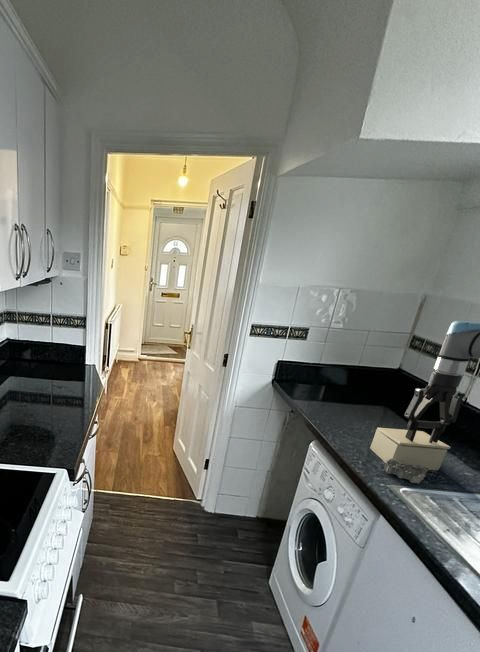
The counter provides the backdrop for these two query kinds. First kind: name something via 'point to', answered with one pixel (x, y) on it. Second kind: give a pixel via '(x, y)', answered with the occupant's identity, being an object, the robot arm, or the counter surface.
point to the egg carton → (406, 470)
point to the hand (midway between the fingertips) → (421, 439)
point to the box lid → (416, 436)
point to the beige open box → (407, 452)
